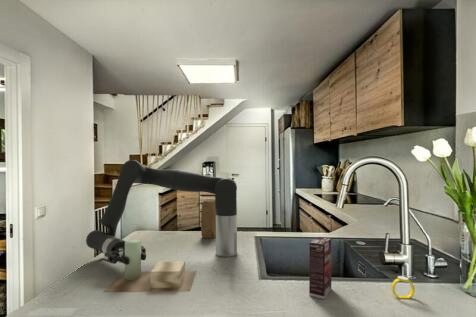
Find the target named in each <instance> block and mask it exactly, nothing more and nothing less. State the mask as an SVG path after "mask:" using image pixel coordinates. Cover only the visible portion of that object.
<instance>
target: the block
mask: <svg viewBox="0 0 476 317" xmlns="http://www.w3.org/2000/svg"><path fill="white" fill-rule="evenodd" d="M200 210H201V212H200V217H201V218H200V223H201V224H200V230H201V237H202V238H204V239H214V238H216V208H215V198H214V199H213V198H212V199H208V198H207V199H204V200H203V201H202V202H201V209H200Z"/></svg>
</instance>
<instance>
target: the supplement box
mask: <svg viewBox="0 0 476 317" xmlns="http://www.w3.org/2000/svg"><path fill="white" fill-rule="evenodd" d="M308 281H309V283H308V284H309V286H308V287H309V289H308V292H309V293H308V295H309V296H310V297H314V298H317V299H322V300H325V298H326V297H327V295H329V292H330V291H331V290H332V238H328V237H322V236H317V237H316V238H314V239H313V240H312V241H310V242H309V280H308Z"/></svg>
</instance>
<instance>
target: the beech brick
mask: <svg viewBox="0 0 476 317" xmlns="http://www.w3.org/2000/svg"><path fill="white" fill-rule="evenodd" d="M150 271H151V288H180V286H181V284H182V281H183V279H184V277H185V271H186V261H185V260H184V261H183V260H181V261H173V260H172V261H169V260H167V261H157V263H156V264H155V265H154V267H153V268H152V269H151V270H150Z"/></svg>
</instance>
